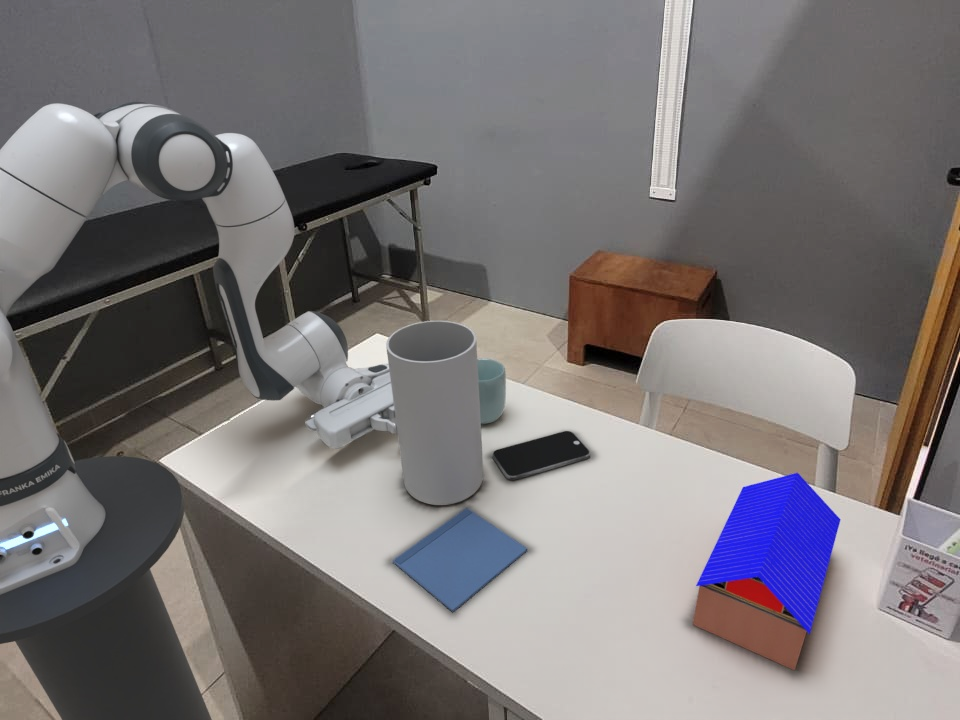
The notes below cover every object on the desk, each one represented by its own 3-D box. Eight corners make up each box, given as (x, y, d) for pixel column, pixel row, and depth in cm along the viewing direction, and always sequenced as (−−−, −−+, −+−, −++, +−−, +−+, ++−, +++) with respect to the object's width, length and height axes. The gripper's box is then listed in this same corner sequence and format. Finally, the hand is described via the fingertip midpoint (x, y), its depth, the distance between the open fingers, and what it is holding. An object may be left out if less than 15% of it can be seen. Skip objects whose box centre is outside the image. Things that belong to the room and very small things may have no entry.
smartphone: (593, 454, 105) (508, 478, 101) (592, 457, 106) (508, 482, 101) (570, 428, 112) (489, 450, 107) (570, 432, 112) (490, 454, 107)
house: (689, 625, 77) (701, 554, 72) (735, 523, 92) (748, 457, 86) (797, 674, 71) (819, 601, 66) (828, 557, 85) (850, 488, 80)
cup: (487, 434, 112) (485, 385, 108) (454, 419, 117) (450, 371, 112) (514, 414, 117) (514, 366, 113) (482, 400, 122) (480, 354, 117)
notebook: (452, 612, 80) (452, 609, 80) (392, 562, 88) (392, 559, 88) (527, 550, 89) (527, 547, 89) (466, 509, 96) (466, 507, 96)
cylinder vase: (395, 505, 98) (375, 361, 86) (414, 454, 109) (398, 319, 96) (477, 510, 96) (469, 363, 84) (488, 457, 107) (481, 321, 95)
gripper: (296, 405, 106) (344, 439, 97) (394, 359, 118) (445, 385, 110) (303, 437, 109) (350, 472, 101) (398, 388, 122) (447, 416, 113)
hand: (401, 426), depth 105 cm, fingers closed
